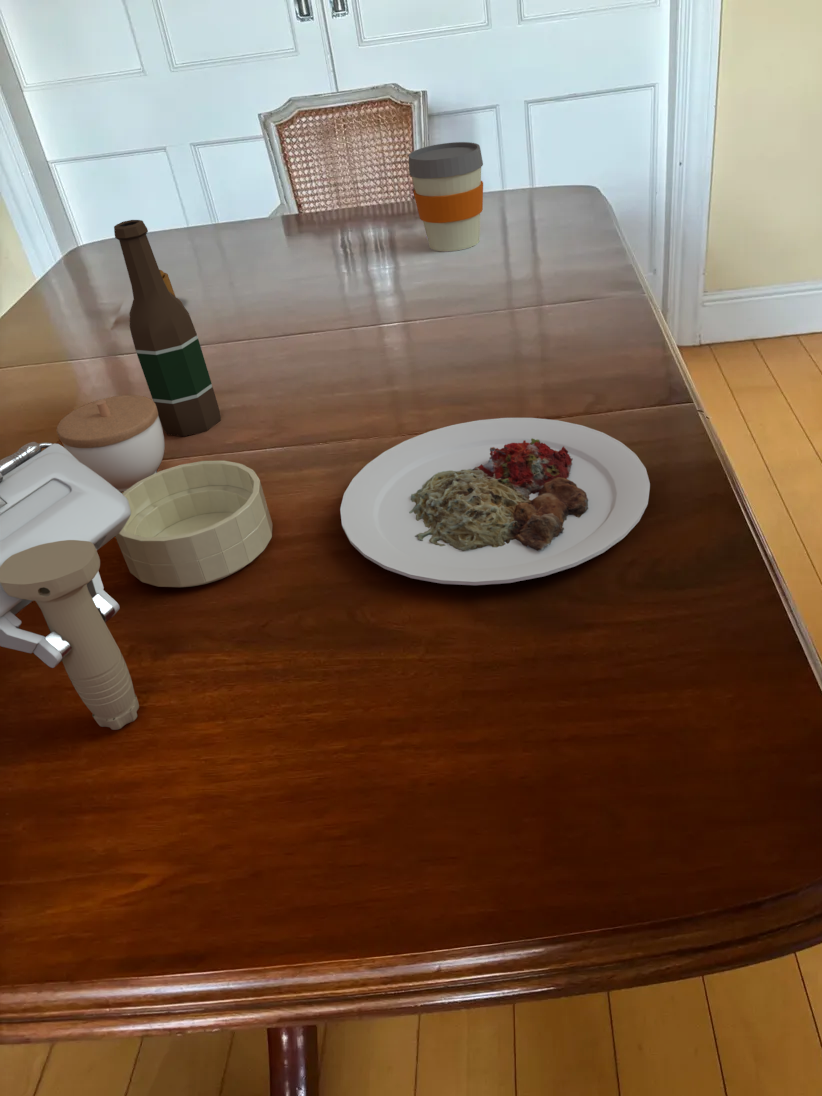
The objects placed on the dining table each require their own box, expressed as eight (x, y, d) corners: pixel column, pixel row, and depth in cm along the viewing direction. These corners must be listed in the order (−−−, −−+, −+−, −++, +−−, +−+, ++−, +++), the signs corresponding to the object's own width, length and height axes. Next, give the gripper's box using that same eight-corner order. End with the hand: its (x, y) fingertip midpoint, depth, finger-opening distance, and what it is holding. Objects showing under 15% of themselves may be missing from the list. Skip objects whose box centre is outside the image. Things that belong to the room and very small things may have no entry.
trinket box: (96, 514, 96) (63, 436, 91) (71, 477, 104) (39, 403, 98) (190, 478, 100) (164, 401, 95) (159, 445, 108) (133, 372, 102)
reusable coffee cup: (414, 240, 163) (401, 150, 154) (481, 228, 164) (473, 138, 155) (425, 259, 153) (412, 164, 144) (496, 246, 154) (488, 151, 145)
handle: (83, 703, 71) (7, 549, 62) (164, 688, 72) (100, 534, 63) (72, 747, 68) (-11, 590, 58) (157, 731, 68) (88, 573, 59)
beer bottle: (171, 411, 115) (106, 217, 101) (229, 406, 114) (172, 209, 100) (153, 440, 109) (81, 237, 95) (214, 435, 108) (151, 229, 94)
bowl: (119, 605, 82) (96, 552, 79) (141, 524, 94) (122, 474, 90) (272, 579, 83) (256, 525, 79) (276, 501, 94) (262, 450, 90)
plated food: (309, 600, 79) (301, 570, 77) (376, 438, 103) (371, 411, 101) (656, 597, 74) (657, 564, 72) (644, 427, 97) (645, 398, 95)
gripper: (36, 453, 72) (167, 574, 74) (-202, 606, 58) (-33, 749, 60) (55, 409, 67) (194, 538, 69) (-198, 562, 53) (-15, 718, 55)
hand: (87, 637), depth 64 cm, fingers closed on handle, 3 cm apart
